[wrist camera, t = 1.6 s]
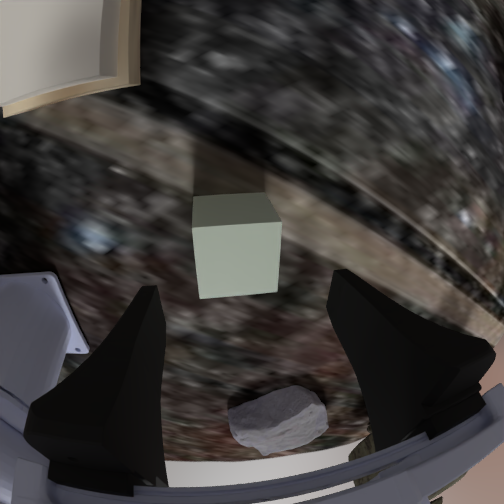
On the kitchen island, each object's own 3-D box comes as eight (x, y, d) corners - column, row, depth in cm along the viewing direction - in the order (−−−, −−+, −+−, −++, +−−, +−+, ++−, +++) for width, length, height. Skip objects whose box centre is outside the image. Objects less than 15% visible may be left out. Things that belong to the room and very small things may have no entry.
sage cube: (198, 257, 18) (199, 298, 15) (193, 195, 16) (192, 227, 13) (262, 252, 19) (277, 291, 15) (264, 191, 17) (282, 221, 13)
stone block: (297, 364, 29) (216, 410, 28) (320, 397, 25) (230, 447, 24) (321, 401, 36) (258, 437, 35) (339, 427, 32) (272, 464, 31)
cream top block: (9, 104, 9) (-21, 112, 7) (15, -1, 6) (-11, -9, 4) (117, 77, 10) (99, 74, 8) (125, -37, 7) (112, -58, 5)
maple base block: (31, 110, 12) (3, 118, 9) (33, 5, 8) (7, -3, 5) (142, 85, 13) (128, 83, 10) (145, -27, 9) (134, -48, 6)
